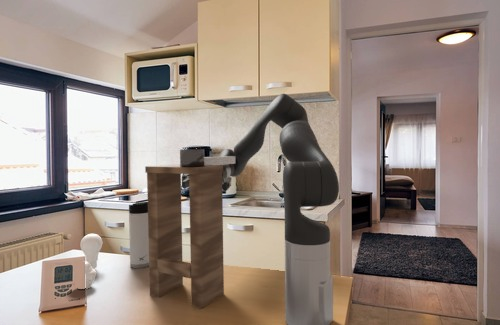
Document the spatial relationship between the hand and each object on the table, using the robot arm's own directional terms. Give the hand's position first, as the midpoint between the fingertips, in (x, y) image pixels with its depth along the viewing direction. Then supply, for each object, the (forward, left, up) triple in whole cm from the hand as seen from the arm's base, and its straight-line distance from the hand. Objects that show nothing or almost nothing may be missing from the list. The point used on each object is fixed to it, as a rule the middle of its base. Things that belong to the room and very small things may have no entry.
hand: (197, 187), depth 98 cm
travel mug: (+22, 0, -25) cm, 34 cm away
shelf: (-5, +11, -25) cm, 28 cm away
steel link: (-9, +6, +7) cm, 13 cm away
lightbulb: (+32, +10, -25) cm, 42 cm away
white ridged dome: (+22, +20, -26) cm, 40 cm away
